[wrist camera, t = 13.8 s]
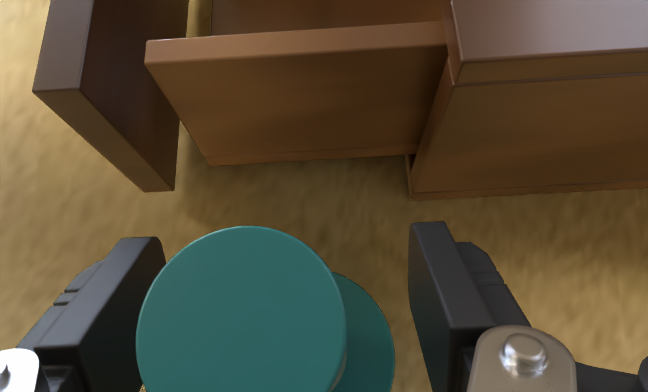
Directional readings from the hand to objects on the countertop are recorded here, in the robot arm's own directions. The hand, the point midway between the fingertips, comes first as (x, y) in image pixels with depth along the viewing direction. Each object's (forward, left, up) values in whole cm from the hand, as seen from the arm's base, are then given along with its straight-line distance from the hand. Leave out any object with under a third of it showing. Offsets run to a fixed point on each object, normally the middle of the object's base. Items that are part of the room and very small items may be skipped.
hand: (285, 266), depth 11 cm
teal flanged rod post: (0, -2, -7) cm, 7 cm away
